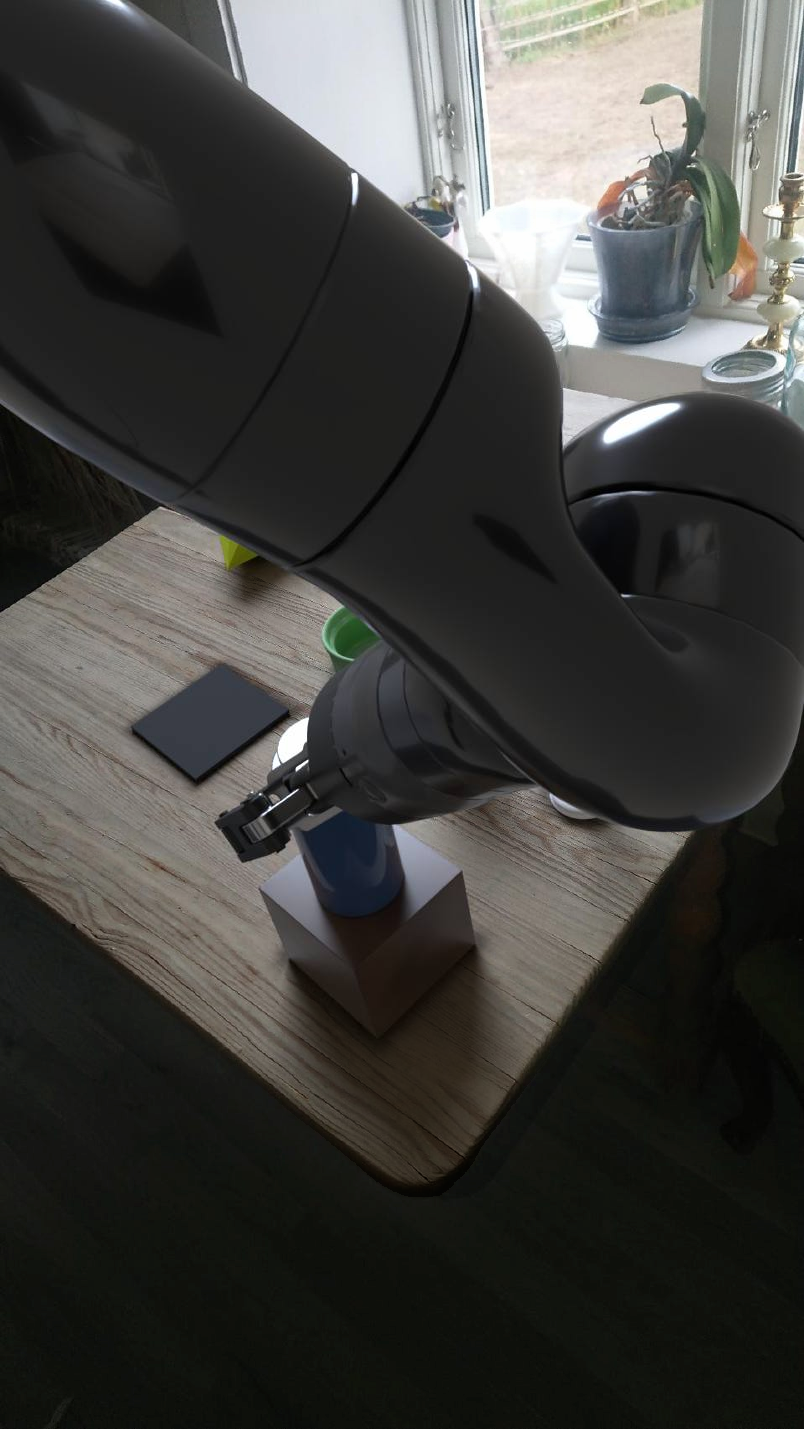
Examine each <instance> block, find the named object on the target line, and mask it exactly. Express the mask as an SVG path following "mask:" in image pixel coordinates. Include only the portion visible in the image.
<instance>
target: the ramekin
mask: <svg viewBox="0 0 804 1429" xmlns="http://www.w3.org/2000/svg"><path fill="white" fill-rule="evenodd" d="M379 640H381V639H380V638H379V637H378V636H377V635H376V634H375V633H374V632H373V631H372V630H370V629H369V628H368V627H367V626H366V625H365V624H364V623H363V622H362V621H361V620H360V619H358V618H357V617H356V616H355V615H354V614H353V613H352V612H350V611H349V610H348V609H347V608H346V607H344V606H343V605H342V606H340V607H338V608H337V609H336V610H335V611H333V612H332V613H331V614H330V615H329V617H328V618H327V620H326V621H325V622H324V625H323V626H322V630H321V642H322V645H323V647H324V649H325V651H326V653H327V654H328V655H329V658H330V660H331V664H332V666H333V669H334V671H335V674H336V673H337V672H339V671H340V670H341V669H343V668H344V667H345V666H347V665H348V664H349V663H351V662H352V661H353V660H354V659H356V658H357V657H358V656H359V655H361V654H362V653H363V652H365V651H366V650H368V649H369V648H370V647H371V646H373V645H374V644H375V643H377V642H378V641H379Z"/></svg>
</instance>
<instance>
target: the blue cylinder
mask: <svg viewBox="0 0 804 1429" xmlns="http://www.w3.org/2000/svg"><path fill="white" fill-rule="evenodd" d="M308 719H309V716H308V717H305V718H302V719H301V720H298V721H296V722H295V723H293V724H292V725H291V726H290V727H288V728H287V729H286V730H285V731H284V732H283V734H282V736H281V737H280V738H279V740H278V743H277V746H276V750H275V753H274V755H273V757H272V762H271V768H270V772H271V771H272V770H273V769H275V768H276V767H278V766H279V765H280V764H282V763H283V762H285V761H286V760H288V759H289V758H291V757H292V756H294V755H295V754H297V753H298V752H300V751H301V750H302V749H303V745H304V743H305V742H307V725H308ZM307 762H308V760H307V761H305V762H304V763H302V764H301V765H299V766H298V767H296V771H297V770H299V769H300V768H301V767H302V766H303V765H305V764H306V763H307ZM291 831H292V834H293V837H294V841H295V843H296V846H297V848H298V851H299V853H300V854H301V856H302V859H303V862H304V865H305V867H306V870H307V873H308V876H309V878H310V881H311V884H312V887H313V889H314V892H315V895H316V897H317V899H318V901H319V902H320V903H321V905H322V906H323V907H324V908H326V909H327V910H329V911H330V912H332V913H334V914H337V915H340V916H345V917H361V916H366V915H369V914H372V913H375V912H377V911H379V910H381V909H382V908H384V907H385V906H387V905H388V904H389V903H390V902H391V901H392V900H393V899H394V898H395V897H396V895H397V894H398V892H399V891H400V889H401V886H402V884H403V880H404V868H403V864H402V860H401V856H400V852H399V848H398V844H397V840H396V836H395V832H394V828H393V825H384V824H377V823H372V822H368V821H365V820H363V819H360V818H358V817H355V816H353V815H351V814H349V813H347V812H346V811H342V812H340V813H339V814H337V815H335V816H333V817H332V818H330V819H328V820H327V821H325V822H323V823H322V824H320V825H318V826H317V827H315V828H313V829H312V830H310V831H302V830H301V829H299V828H293V829H291Z"/></svg>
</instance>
